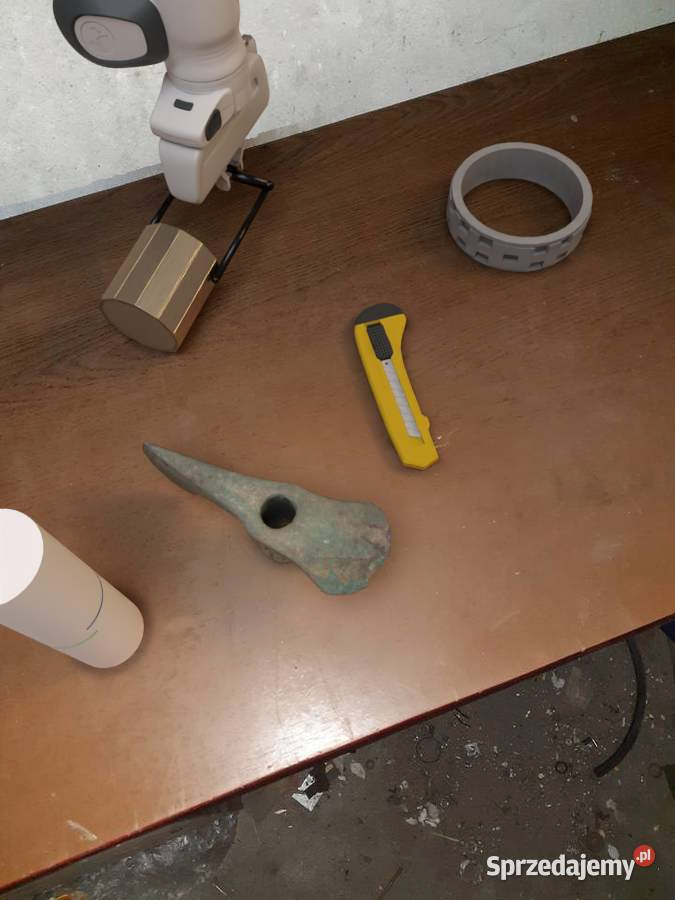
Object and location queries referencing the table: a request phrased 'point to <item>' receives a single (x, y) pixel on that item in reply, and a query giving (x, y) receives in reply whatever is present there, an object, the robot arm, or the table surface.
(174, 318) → the bucket
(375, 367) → the utility knife
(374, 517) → the axe head
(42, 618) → the cylindrical container
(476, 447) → the table surface
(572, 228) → the ring
